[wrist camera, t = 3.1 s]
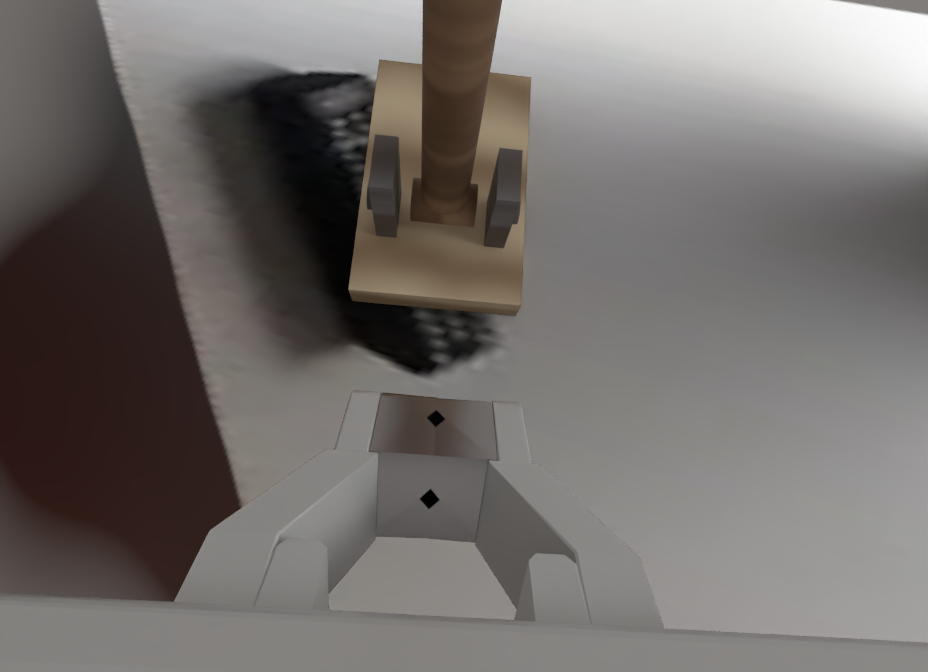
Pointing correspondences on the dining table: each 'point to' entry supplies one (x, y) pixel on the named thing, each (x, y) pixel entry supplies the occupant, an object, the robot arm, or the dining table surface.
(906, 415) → the dining table surface
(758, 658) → the robot arm
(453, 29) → the lever
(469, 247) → the press base
